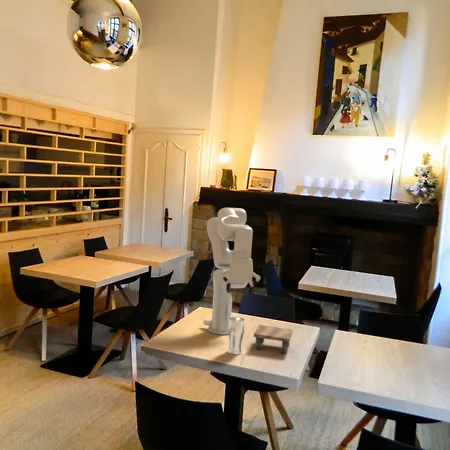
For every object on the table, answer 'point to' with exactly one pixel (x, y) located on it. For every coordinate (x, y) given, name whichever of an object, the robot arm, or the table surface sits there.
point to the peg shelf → (272, 336)
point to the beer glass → (235, 335)
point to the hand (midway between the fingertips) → (239, 293)
